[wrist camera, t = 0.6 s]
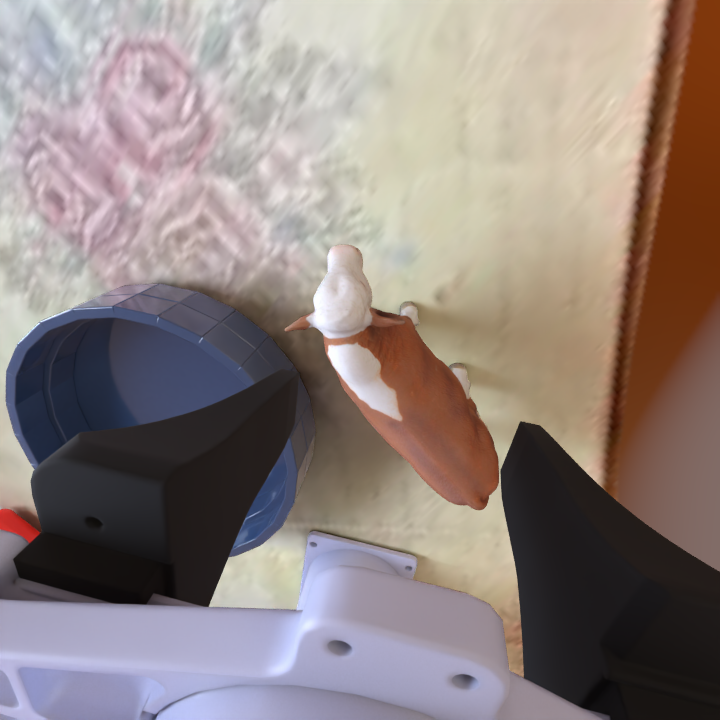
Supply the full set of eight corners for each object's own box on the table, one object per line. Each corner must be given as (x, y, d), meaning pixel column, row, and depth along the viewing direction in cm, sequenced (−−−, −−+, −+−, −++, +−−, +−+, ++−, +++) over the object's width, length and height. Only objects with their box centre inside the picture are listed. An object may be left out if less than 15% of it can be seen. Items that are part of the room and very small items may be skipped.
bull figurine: (380, 209, 21) (348, 241, 13) (501, 418, 25) (528, 531, 17) (308, 255, 22) (245, 307, 15) (433, 445, 26) (432, 559, 19)
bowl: (304, 531, 31) (284, 586, 27) (87, 477, 33) (38, 522, 29) (333, 314, 23) (312, 349, 19) (44, 254, 25) (-31, 275, 21)
